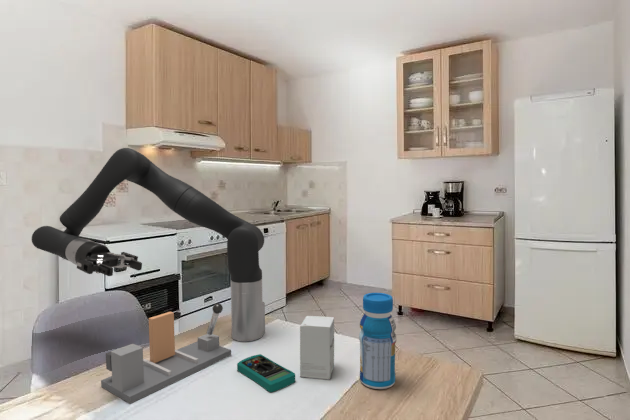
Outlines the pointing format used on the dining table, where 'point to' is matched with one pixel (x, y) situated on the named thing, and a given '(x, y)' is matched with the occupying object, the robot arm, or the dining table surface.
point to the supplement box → (317, 347)
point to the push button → (108, 361)
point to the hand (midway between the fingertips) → (126, 269)
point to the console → (159, 367)
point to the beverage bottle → (377, 342)
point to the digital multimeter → (266, 372)
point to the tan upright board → (161, 337)
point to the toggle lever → (214, 318)
